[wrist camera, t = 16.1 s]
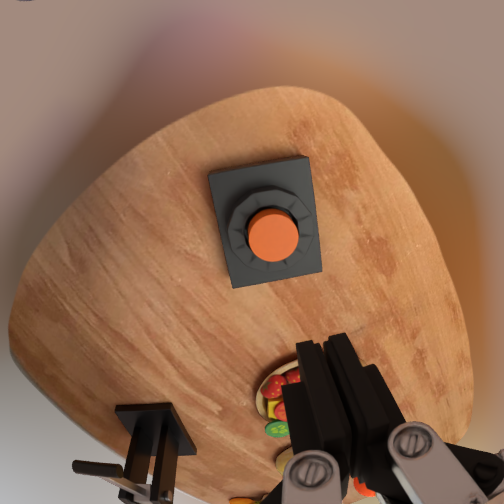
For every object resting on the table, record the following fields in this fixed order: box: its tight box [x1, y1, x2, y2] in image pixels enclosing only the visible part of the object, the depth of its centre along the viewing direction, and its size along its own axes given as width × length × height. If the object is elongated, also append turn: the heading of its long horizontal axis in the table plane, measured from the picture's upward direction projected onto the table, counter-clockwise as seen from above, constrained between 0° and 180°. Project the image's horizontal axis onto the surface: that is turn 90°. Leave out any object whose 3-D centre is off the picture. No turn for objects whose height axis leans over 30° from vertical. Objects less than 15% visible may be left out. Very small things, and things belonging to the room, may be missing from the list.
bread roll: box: [276, 447, 293, 476], centre depth 40 cm, size 8×9×4 cm
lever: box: [72, 460, 153, 504], centre depth 24 cm, size 13×5×2 cm, turn 9°
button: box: [248, 209, 299, 262], centre depth 24 cm, size 4×4×2 cm
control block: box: [208, 155, 322, 289], centre depth 26 cm, size 10×8×4 cm
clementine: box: [354, 477, 376, 497], centre depth 42 cm, size 8×7×7 cm
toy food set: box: [256, 358, 367, 437], centre depth 35 cm, size 13×13×3 cm
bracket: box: [115, 403, 197, 504], centre depth 32 cm, size 11×8×13 cm
